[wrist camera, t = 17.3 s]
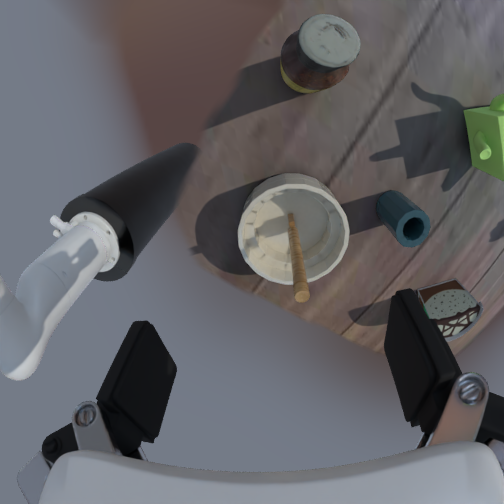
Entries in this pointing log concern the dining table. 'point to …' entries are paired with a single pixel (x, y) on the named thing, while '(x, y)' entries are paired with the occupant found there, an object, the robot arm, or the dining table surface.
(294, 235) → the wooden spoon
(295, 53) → the sauce bottle
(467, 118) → the kettle
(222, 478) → the robot arm
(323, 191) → the bowl
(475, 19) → the dining table surface
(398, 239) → the crock
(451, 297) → the food container
